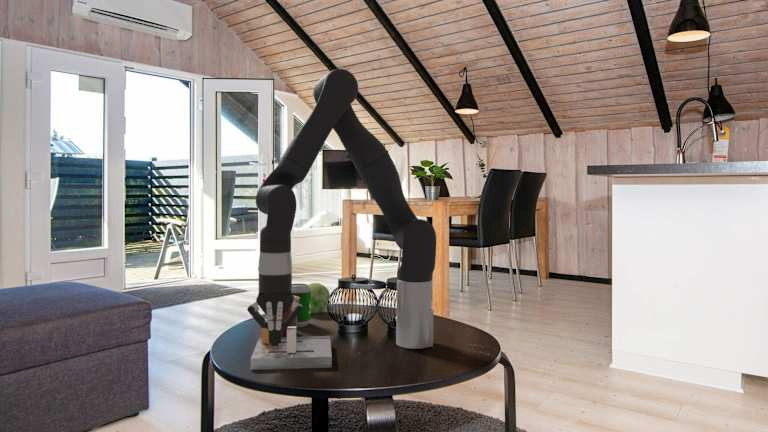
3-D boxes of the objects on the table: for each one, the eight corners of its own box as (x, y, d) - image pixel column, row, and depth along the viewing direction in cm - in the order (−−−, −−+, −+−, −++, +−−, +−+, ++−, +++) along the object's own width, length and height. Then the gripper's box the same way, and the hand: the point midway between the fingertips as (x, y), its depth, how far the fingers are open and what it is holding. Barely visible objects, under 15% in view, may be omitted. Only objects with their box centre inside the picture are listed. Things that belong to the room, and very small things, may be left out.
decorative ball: (332, 315, 168) (332, 285, 167) (301, 317, 165) (301, 286, 165) (327, 309, 177) (327, 280, 177) (298, 310, 175) (298, 281, 174)
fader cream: (296, 348, 123) (296, 326, 123) (295, 352, 119) (295, 329, 119) (287, 348, 123) (287, 326, 122) (286, 352, 119) (286, 330, 119)
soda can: (308, 328, 152) (308, 287, 151) (282, 327, 152) (283, 287, 152) (312, 321, 159) (312, 283, 159) (288, 321, 160) (288, 282, 159)
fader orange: (271, 339, 130) (271, 318, 130) (270, 343, 126) (270, 321, 126) (263, 339, 130) (263, 318, 129) (261, 343, 126) (261, 322, 126)
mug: (275, 329, 150) (275, 294, 150) (304, 331, 148) (304, 295, 148) (257, 340, 138) (257, 302, 138) (288, 343, 137) (288, 304, 136)
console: (329, 345, 135) (329, 335, 134) (331, 367, 118) (331, 356, 118) (259, 347, 132) (259, 337, 132) (250, 369, 115) (250, 358, 115)
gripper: (304, 268, 124) (304, 340, 125) (248, 269, 122) (248, 341, 123) (303, 273, 117) (303, 349, 117) (243, 273, 115) (243, 350, 116)
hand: (275, 345), depth 120 cm, fingers closed
